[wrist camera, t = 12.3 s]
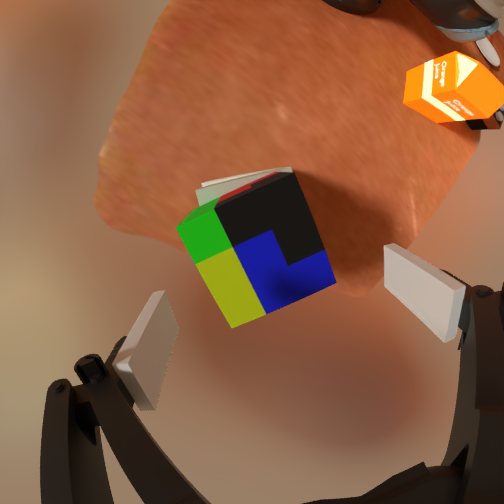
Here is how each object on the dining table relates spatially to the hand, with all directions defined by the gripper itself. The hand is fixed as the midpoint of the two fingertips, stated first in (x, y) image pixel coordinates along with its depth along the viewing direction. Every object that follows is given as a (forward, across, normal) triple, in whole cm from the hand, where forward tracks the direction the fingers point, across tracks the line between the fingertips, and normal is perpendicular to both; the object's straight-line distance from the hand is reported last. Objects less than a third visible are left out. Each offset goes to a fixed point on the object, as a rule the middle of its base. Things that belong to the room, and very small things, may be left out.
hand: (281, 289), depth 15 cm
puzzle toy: (+17, -1, 0) cm, 17 cm away
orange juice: (+29, +36, +17) cm, 49 cm away
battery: (+29, +51, +14) cm, 60 cm away
